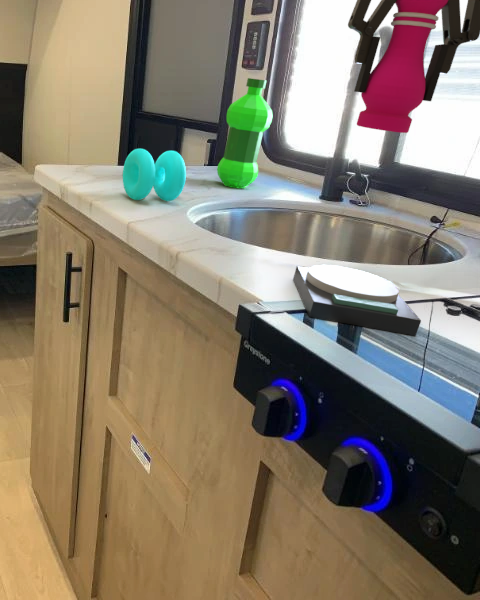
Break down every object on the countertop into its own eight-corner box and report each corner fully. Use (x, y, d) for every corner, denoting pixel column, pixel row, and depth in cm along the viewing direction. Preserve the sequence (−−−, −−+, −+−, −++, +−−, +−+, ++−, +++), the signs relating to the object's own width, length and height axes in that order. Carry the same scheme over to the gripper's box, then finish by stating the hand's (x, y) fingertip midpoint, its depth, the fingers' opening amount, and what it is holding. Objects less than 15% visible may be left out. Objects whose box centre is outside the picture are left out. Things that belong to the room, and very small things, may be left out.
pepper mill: (396, 133, 73) (454, -54, 66) (341, 123, 78) (390, -51, 71) (421, 134, 77) (479, -41, 70) (368, 125, 82) (417, -39, 75)
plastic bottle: (205, 180, 151) (226, 75, 142) (241, 182, 154) (264, 80, 145) (225, 189, 142) (249, 78, 133) (263, 191, 146) (289, 83, 136)
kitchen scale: (382, 294, 82) (389, 274, 81) (415, 336, 69) (424, 312, 68) (293, 279, 83) (298, 259, 82) (308, 317, 71) (315, 293, 69)
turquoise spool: (183, 206, 119) (193, 156, 115) (138, 205, 115) (147, 153, 111) (159, 194, 127) (167, 146, 123) (117, 193, 123) (124, 143, 120)
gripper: (370, -134, 66) (314, 86, 74) (570, -119, 63) (488, 108, 71) (355, -114, 73) (306, 85, 81) (536, -100, 69) (464, 105, 78)
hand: (391, 96), depth 76 cm, fingers closed on pepper mill, 7 cm apart
